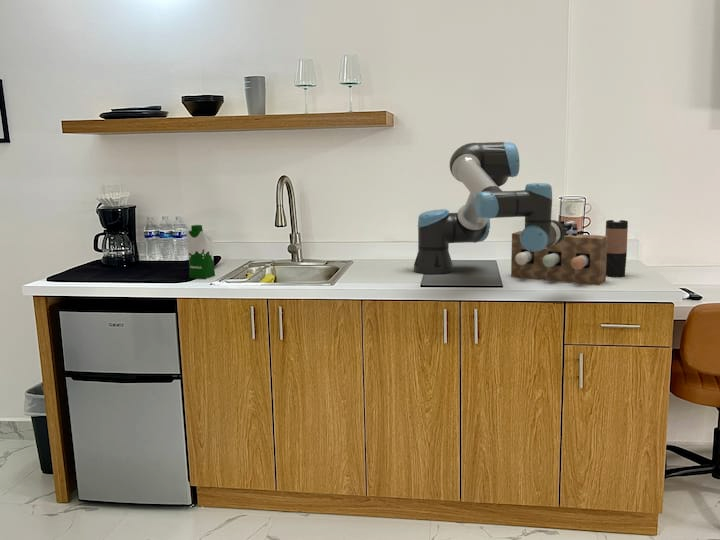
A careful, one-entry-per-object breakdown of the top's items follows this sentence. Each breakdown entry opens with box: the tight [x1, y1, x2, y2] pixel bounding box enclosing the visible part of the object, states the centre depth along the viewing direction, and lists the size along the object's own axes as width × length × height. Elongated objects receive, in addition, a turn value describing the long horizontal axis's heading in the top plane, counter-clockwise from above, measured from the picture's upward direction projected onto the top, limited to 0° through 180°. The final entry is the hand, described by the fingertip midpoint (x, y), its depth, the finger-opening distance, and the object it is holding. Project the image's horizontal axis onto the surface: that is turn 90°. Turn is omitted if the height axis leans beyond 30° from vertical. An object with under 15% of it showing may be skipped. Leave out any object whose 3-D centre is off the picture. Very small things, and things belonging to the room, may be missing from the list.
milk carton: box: [185, 224, 216, 280], centre depth 281 cm, size 9×9×20 cm
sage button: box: [543, 253, 561, 267], centre depth 259 cm, size 4×7×4 cm, turn 147°
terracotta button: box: [571, 255, 589, 270], centre depth 254 cm, size 4×7×4 cm, turn 147°
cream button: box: [515, 251, 534, 265], centre depth 264 cm, size 4×7×4 cm, turn 147°
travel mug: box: [604, 219, 629, 278], centre depth 269 cm, size 8×8×20 cm
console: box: [510, 230, 608, 286], centre depth 264 cm, size 32×8×16 cm, turn 57°
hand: (572, 225), depth 243 cm, fingers closed
